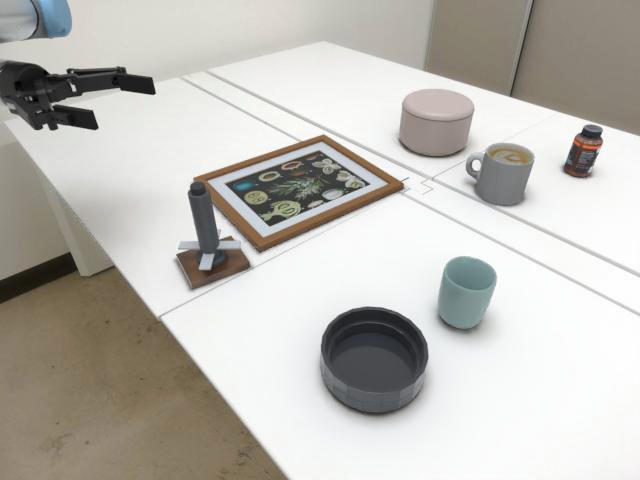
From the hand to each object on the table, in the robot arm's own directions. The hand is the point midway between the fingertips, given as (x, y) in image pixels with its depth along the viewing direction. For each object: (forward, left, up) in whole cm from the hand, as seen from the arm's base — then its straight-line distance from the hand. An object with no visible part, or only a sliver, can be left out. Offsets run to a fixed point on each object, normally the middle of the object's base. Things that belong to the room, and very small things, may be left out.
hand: (125, 102), depth 69 cm
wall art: (+32, +8, -30) cm, 45 cm away
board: (+6, -7, -30) cm, 32 cm away
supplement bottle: (+93, -21, -30) cm, 100 cm away
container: (+73, +9, -30) cm, 80 cm away
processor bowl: (+18, -41, -30) cm, 54 cm away
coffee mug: (+70, -16, -30) cm, 78 cm away
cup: (+36, -40, -30) cm, 62 cm away
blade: (+6, -7, -28) cm, 30 cm away
